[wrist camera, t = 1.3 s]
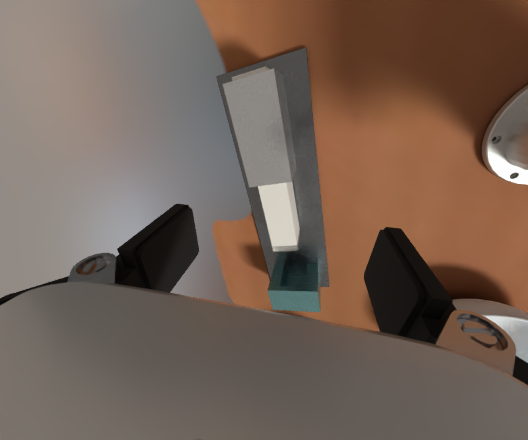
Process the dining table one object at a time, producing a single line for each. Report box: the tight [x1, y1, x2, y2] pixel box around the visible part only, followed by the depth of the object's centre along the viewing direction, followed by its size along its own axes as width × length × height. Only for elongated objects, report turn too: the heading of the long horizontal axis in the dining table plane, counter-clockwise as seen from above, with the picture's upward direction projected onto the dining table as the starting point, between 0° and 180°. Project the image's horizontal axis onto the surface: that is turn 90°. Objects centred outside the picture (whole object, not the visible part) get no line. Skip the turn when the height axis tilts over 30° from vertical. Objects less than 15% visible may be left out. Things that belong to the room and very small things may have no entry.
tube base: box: [217, 48, 329, 312], centre depth 32 cm, size 39×12×7 cm, turn 12°
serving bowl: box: [452, 299, 528, 363], centre depth 37 cm, size 21×21×7 cm
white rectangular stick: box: [232, 66, 300, 251], centre depth 30 cm, size 24×4×5 cm, turn 12°
